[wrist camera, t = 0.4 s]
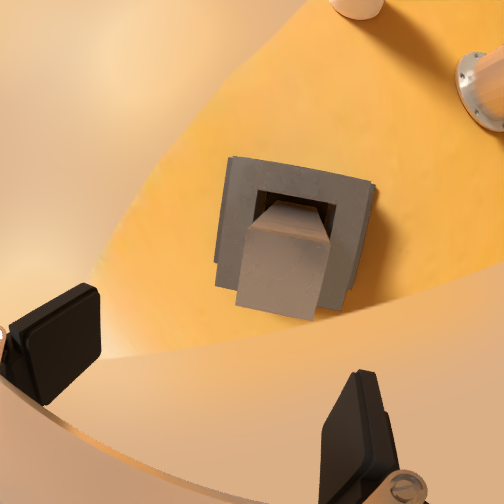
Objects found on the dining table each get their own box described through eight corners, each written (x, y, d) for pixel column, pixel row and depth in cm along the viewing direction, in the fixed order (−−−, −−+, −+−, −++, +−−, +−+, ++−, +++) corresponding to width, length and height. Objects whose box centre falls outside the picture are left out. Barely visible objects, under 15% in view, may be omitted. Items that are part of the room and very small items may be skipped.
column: (315, 207, 39) (331, 244, 18) (307, 250, 40) (309, 331, 19) (277, 200, 39) (247, 228, 18) (269, 243, 41) (233, 316, 20)
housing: (373, 184, 37) (395, 187, 27) (350, 286, 40) (362, 318, 31) (230, 157, 39) (207, 152, 29) (216, 260, 43) (191, 284, 33)
